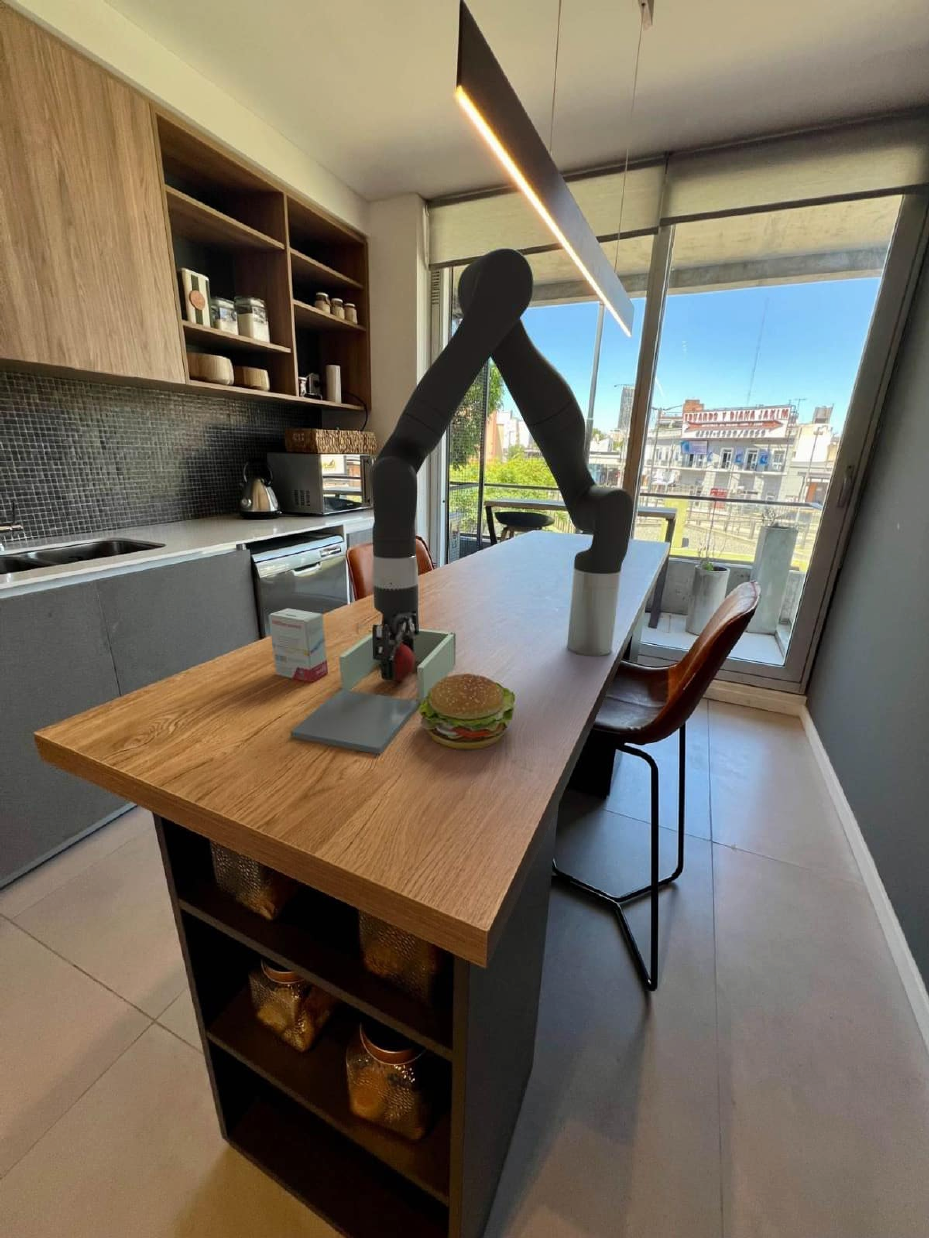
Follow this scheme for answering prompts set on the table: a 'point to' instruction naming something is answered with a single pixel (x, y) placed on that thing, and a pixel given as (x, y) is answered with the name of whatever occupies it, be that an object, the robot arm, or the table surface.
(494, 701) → the food
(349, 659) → the cubby
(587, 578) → the robot arm
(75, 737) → the table surface
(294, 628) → the ink box
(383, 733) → the tile
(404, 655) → the onion
